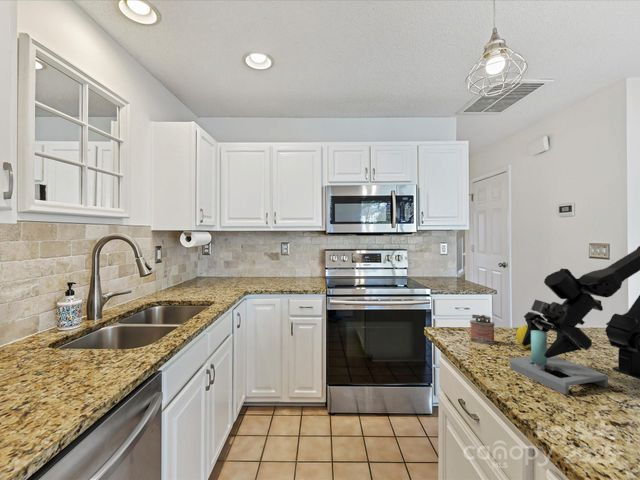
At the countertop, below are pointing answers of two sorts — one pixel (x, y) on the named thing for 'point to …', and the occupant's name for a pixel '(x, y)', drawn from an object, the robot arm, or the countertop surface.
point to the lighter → (482, 330)
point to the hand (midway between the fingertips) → (533, 350)
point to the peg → (539, 348)
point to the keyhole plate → (561, 365)
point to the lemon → (522, 335)
